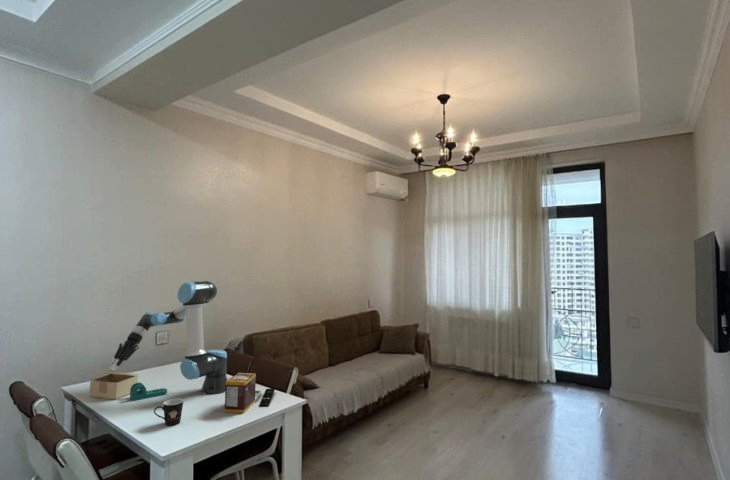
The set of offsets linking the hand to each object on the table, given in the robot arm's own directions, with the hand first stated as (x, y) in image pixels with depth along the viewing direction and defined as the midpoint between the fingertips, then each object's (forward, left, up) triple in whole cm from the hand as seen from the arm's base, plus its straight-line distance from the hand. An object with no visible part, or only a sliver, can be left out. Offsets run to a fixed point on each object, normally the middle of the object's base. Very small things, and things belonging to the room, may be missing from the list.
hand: (111, 370), depth 219 cm
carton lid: (+1, -2, -2) cm, 3 cm away
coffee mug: (-62, -14, -14) cm, 65 cm away
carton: (0, -1, -14) cm, 14 cm away
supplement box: (-64, -48, -14) cm, 81 cm away
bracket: (-16, -16, -14) cm, 26 cm away
